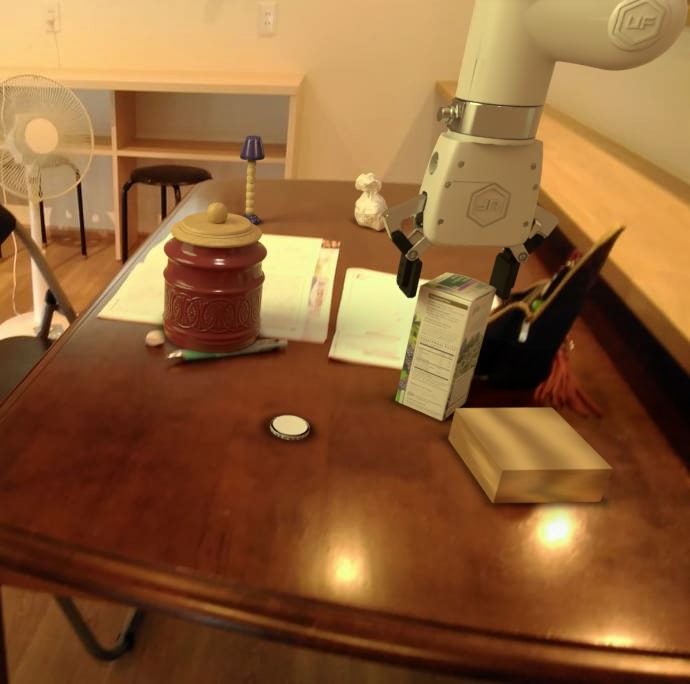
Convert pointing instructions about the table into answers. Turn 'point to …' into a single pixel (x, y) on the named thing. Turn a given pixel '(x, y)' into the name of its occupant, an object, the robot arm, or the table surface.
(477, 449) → the maple block
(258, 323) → the kitchen canister
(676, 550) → the table surface
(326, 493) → the table surface
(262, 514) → the table surface
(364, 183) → the white tied sack
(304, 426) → the bottle cap
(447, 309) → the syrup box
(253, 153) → the toy lamp
